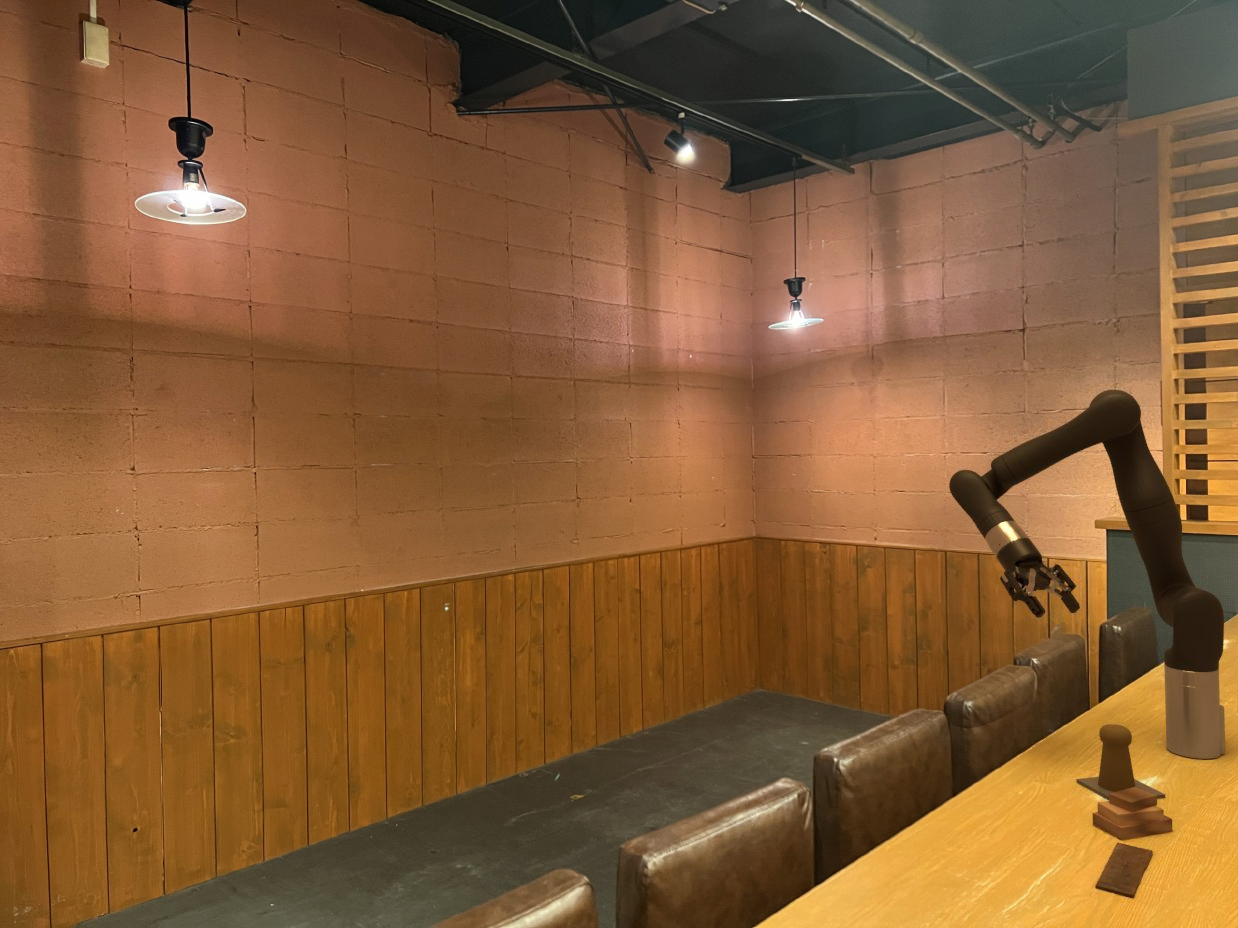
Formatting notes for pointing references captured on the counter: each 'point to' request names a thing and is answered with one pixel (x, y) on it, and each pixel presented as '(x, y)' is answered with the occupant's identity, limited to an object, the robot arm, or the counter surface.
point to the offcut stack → (1131, 815)
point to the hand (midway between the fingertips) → (1059, 612)
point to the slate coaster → (1093, 786)
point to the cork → (1115, 758)
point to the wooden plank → (1124, 870)
